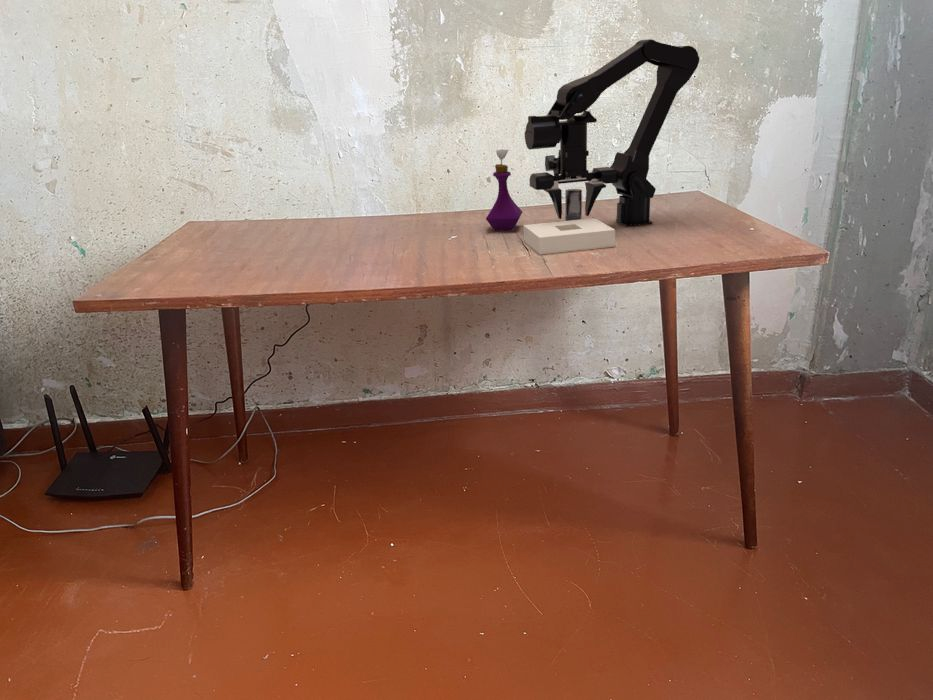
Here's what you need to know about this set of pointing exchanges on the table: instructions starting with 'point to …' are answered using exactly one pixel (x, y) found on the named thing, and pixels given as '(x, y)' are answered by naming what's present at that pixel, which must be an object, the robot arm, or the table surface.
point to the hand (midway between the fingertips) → (573, 217)
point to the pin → (573, 204)
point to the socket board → (569, 236)
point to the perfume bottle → (503, 201)
